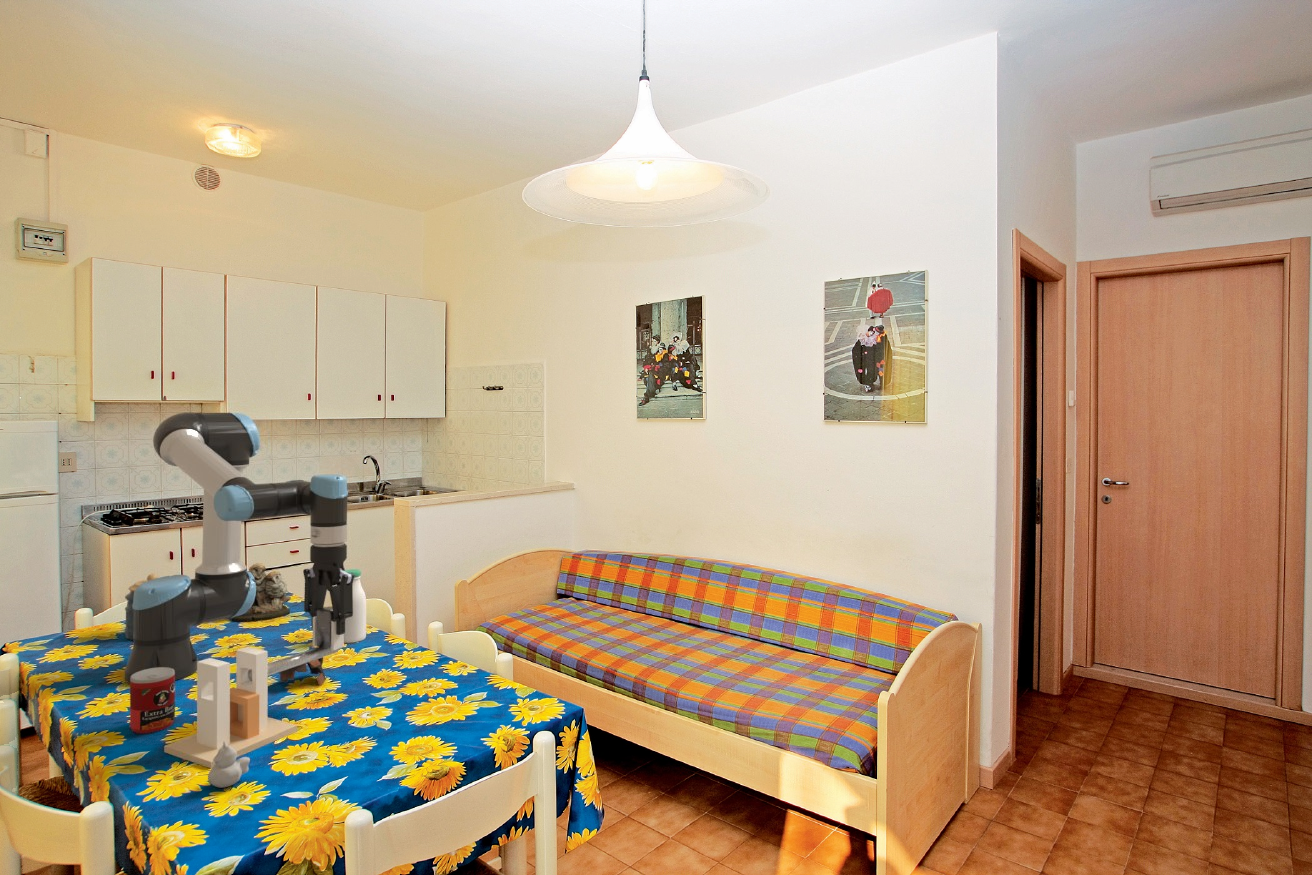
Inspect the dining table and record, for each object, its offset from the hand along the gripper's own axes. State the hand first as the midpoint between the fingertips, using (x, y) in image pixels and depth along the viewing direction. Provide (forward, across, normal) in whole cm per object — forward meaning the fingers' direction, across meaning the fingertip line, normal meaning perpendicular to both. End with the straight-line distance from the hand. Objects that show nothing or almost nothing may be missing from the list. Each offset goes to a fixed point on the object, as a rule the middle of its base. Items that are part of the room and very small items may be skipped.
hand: (328, 646), depth 165 cm
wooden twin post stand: (+13, 0, -22) cm, 26 cm away
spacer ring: (+12, 0, -21) cm, 24 cm away
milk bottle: (+13, -32, +36) cm, 50 cm away
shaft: (+2, 0, -8) cm, 8 cm away
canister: (+13, -85, +12) cm, 87 cm away
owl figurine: (+13, -76, +38) cm, 86 cm away
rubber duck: (+13, +15, -34) cm, 39 cm away
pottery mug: (+13, -15, +7) cm, 21 cm away
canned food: (+13, -21, -26) cm, 35 cm away
